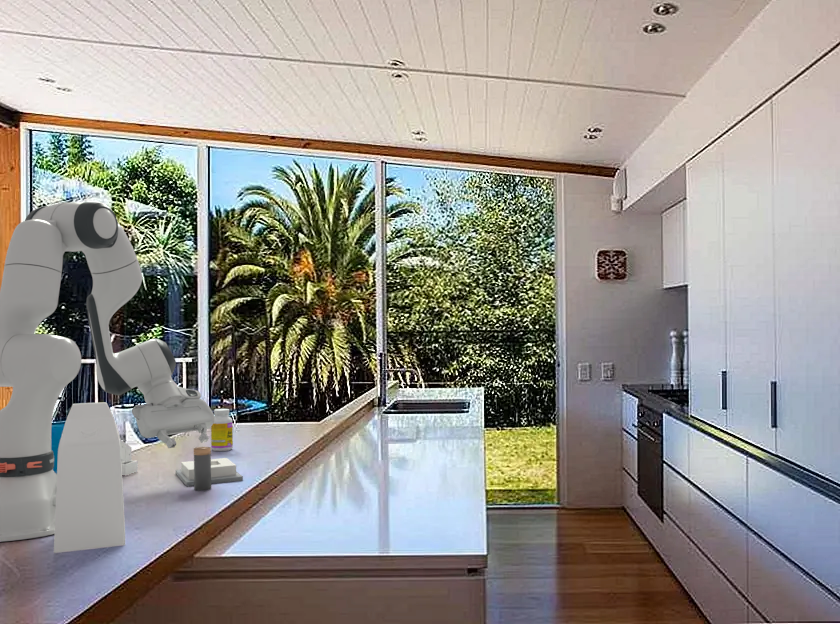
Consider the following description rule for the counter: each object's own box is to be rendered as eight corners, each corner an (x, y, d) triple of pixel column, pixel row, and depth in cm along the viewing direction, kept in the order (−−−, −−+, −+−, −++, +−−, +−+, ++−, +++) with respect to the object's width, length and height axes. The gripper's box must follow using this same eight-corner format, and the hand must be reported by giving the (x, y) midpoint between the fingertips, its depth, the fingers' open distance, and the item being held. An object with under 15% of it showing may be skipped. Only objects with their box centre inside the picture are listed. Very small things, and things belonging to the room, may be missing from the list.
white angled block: (103, 469, 203) (113, 438, 207) (122, 481, 211) (131, 451, 216) (116, 470, 202) (125, 438, 206) (134, 482, 211) (143, 451, 215)
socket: (242, 480, 198) (242, 466, 199) (186, 486, 192) (186, 472, 192) (227, 468, 215) (227, 455, 215) (175, 473, 209) (175, 460, 209)
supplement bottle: (229, 451, 242) (229, 410, 242) (208, 451, 242) (208, 411, 242) (235, 448, 249) (234, 408, 249) (214, 448, 249) (214, 408, 249)
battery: (212, 489, 188) (212, 448, 188) (195, 491, 186) (195, 450, 186) (209, 486, 192) (209, 446, 192) (192, 488, 190) (192, 447, 190)
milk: (125, 529, 153) (123, 398, 154) (125, 545, 143) (123, 404, 143) (58, 536, 149) (57, 402, 149) (53, 553, 138) (52, 408, 139)
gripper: (134, 397, 189) (157, 441, 183) (204, 390, 205) (227, 430, 199) (124, 414, 192) (147, 458, 186) (194, 406, 208) (217, 445, 202)
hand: (189, 443), depth 193 cm, fingers open, 8 cm apart
